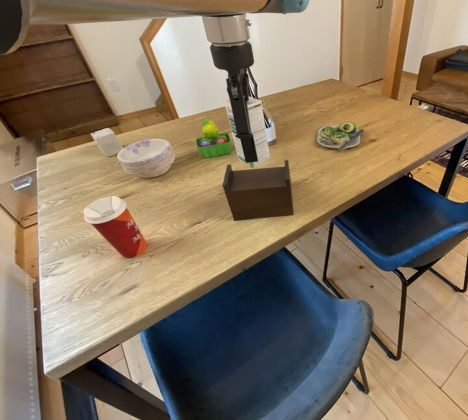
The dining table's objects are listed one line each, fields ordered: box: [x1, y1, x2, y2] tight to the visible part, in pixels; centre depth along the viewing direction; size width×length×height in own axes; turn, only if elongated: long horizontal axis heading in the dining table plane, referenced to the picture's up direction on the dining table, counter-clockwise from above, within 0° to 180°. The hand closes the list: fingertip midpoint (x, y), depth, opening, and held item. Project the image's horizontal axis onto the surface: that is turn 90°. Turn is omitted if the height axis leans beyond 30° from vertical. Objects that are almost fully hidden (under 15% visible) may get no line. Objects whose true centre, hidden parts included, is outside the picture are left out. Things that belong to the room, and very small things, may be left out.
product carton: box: [90, 127, 124, 158], centre depth 98 cm, size 6×6×7 cm
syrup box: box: [224, 96, 271, 169], centre depth 62 cm, size 6×6×14 cm
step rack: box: [222, 159, 295, 222], centre depth 76 cm, size 15×16×12 cm
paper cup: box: [83, 195, 148, 259], centre depth 62 cm, size 8×8×14 cm
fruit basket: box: [195, 118, 232, 159], centre depth 96 cm, size 11×9×11 cm
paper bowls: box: [116, 138, 176, 179], centre depth 89 cm, size 15×15×8 cm
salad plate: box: [316, 121, 365, 152], centre depth 104 cm, size 19×18×5 cm
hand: (253, 151), depth 66 cm, fingers closed on syrup box, 8 cm apart
